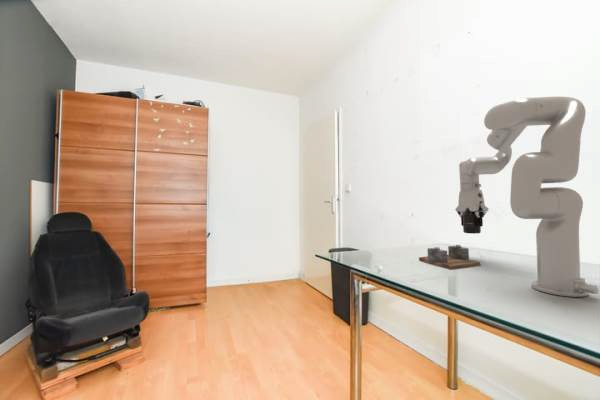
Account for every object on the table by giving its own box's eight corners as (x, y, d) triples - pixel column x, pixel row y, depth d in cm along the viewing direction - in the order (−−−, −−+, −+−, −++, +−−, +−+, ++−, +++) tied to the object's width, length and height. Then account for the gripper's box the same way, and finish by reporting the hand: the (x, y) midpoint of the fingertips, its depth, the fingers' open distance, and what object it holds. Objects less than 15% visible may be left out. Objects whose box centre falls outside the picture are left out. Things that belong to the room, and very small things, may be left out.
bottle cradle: (480, 265, 114) (479, 247, 114) (451, 269, 109) (450, 251, 109) (445, 257, 131) (445, 242, 131) (419, 260, 126) (418, 244, 126)
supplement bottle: (465, 233, 121) (464, 207, 122) (461, 232, 128) (460, 207, 128) (483, 233, 119) (481, 206, 120) (478, 232, 126) (476, 206, 126)
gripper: (494, 185, 117) (496, 226, 117) (459, 188, 134) (461, 224, 133) (481, 185, 115) (483, 227, 114) (447, 189, 132) (449, 225, 131)
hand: (471, 225), depth 124 cm, fingers closed on supplement bottle, 6 cm apart
